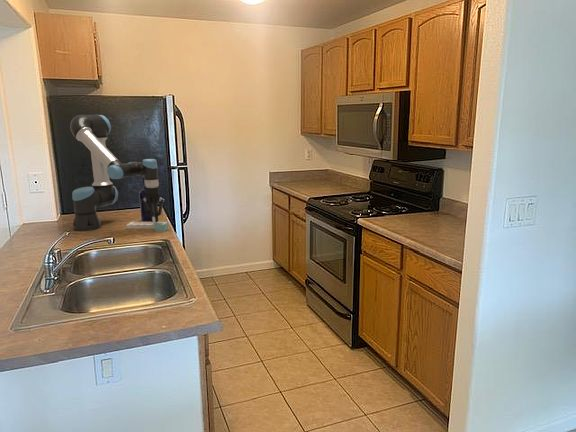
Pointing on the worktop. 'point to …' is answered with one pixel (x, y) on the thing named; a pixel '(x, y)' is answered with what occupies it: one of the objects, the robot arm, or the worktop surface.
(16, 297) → the worktop surface
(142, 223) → the slab
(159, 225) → the stub
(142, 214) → the bottle
